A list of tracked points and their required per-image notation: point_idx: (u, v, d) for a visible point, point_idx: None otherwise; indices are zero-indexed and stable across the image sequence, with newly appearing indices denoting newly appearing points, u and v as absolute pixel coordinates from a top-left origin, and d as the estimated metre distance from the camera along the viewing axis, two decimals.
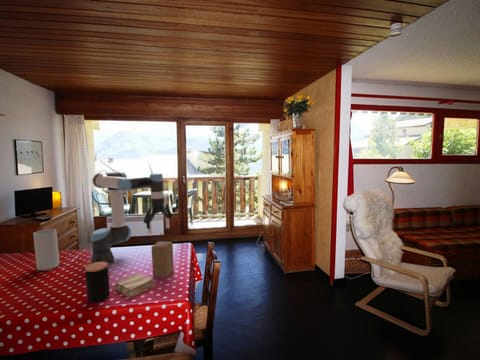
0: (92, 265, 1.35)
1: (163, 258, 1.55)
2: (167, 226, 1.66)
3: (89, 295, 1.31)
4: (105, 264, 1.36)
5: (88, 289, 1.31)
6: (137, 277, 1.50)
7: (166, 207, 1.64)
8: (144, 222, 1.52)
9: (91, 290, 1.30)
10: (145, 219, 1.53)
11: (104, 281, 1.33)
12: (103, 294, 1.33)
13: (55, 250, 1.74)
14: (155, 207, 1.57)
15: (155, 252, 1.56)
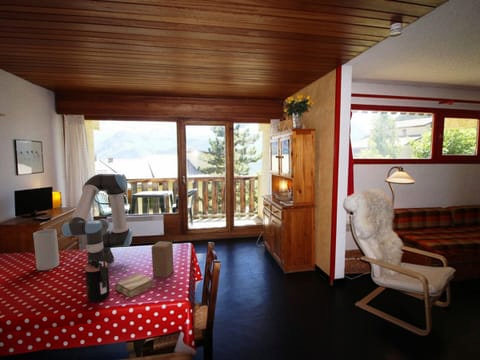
0: None
1: (163, 258, 1.55)
2: None
3: (89, 295, 1.31)
4: (105, 264, 1.36)
5: (88, 289, 1.31)
6: (137, 277, 1.50)
7: None
8: None
9: (91, 290, 1.30)
10: None
11: None
12: (103, 294, 1.33)
13: (55, 250, 1.74)
14: (91, 259, 1.35)
15: (155, 252, 1.56)
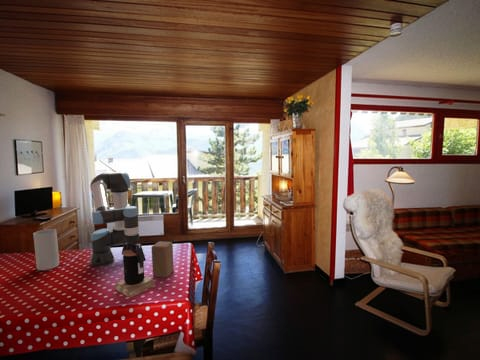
0: (128, 250, 1.44)
1: (163, 258, 1.55)
2: None
3: (127, 278, 1.40)
4: None
5: (126, 272, 1.40)
6: None
7: (137, 248, 1.39)
8: None
9: (128, 273, 1.40)
10: None
11: None
12: (139, 277, 1.42)
13: (55, 250, 1.74)
14: (128, 243, 1.44)
15: (155, 252, 1.56)
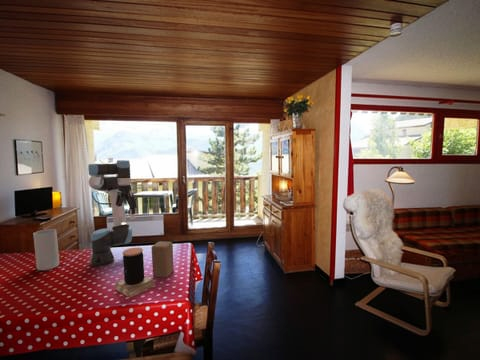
0: (128, 250, 1.44)
1: (163, 258, 1.55)
2: None
3: (127, 278, 1.40)
4: (140, 249, 1.45)
5: (126, 272, 1.40)
6: None
7: (129, 196, 1.55)
8: None
9: (128, 273, 1.40)
10: None
11: (140, 265, 1.42)
12: (139, 277, 1.42)
13: (55, 250, 1.74)
14: (121, 193, 1.60)
15: (155, 252, 1.56)
